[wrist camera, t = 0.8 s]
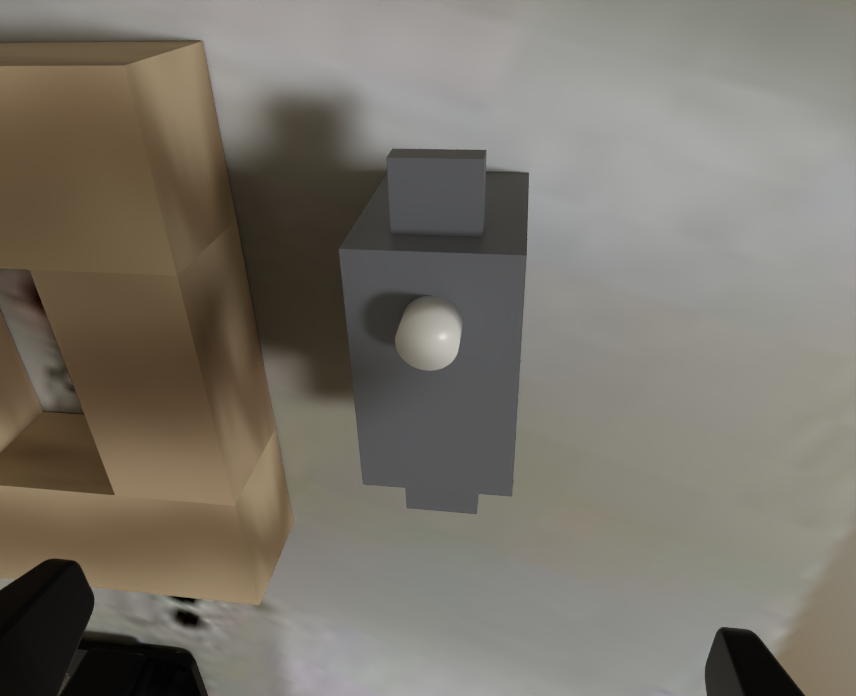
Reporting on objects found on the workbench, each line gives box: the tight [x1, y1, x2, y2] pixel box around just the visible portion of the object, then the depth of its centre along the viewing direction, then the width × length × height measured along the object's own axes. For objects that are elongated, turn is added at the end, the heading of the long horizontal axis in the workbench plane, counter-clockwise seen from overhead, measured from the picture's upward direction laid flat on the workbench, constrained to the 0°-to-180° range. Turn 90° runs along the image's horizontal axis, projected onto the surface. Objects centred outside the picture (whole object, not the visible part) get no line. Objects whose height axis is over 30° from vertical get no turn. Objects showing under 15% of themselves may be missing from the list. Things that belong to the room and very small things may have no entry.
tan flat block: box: [0, 41, 293, 605], centre depth 19 cm, size 16×12×4 cm
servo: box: [339, 149, 529, 514], centre depth 15 cm, size 9×4×6 cm, turn 1°
